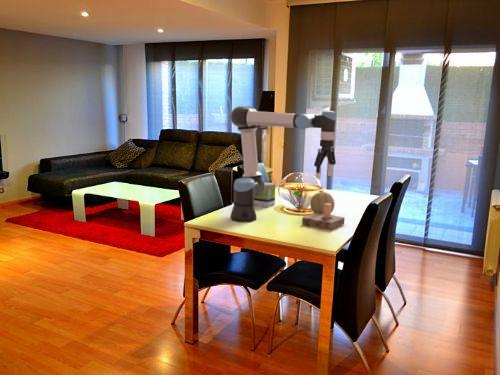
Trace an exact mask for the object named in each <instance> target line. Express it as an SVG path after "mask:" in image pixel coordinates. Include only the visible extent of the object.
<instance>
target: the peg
mask: <svg viewBox="0 0 500 375" xmlns="http://www.w3.org/2000/svg"><path fill="white" fill-rule="evenodd" d="M331 213H332V212H331V204H328V203H325V204H324V213H323V219H327V220H330V217H331V215H332V214H331Z"/></svg>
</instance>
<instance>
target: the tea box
mask: <svg viewBox="0 0 500 375" xmlns="http://www.w3.org/2000/svg"><path fill="white" fill-rule="evenodd" d="M275 204H276V183H271V182H265V189H264V191H263V192H262V193H261V194H260V195H259V196H256V197H254V206H257V207H264V208H270V207H273V206H275Z"/></svg>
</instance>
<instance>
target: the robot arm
mask: <svg viewBox="0 0 500 375" xmlns="http://www.w3.org/2000/svg"><path fill="white" fill-rule="evenodd" d="M336 114H337V113H336V112H335V111H333V110H329V111H328V110H323V111H322V112H321V114H320V113H319V114H317V113H294V112H293V113H290V112H289V113H288V112H275V111H274V112H273V111H272V112H271V111H261V110H260V111H259V110H258V111H257V109H256V108H254V107H252V106H249V105H247V106H237V107H234V108H233V109H232V111H231V113H230V120H231V122H232V124H233V125H234V126H236V127H237V131H238V132H239V133H240V137H241V149H242V159H243V169H244V173H243V174H242V177H240V178H239V177H238V178H237V179H235V180H234V182H233V207H232V209H231V212H230V221H231V220H232V221H234V222H239V223H249V222H255V221H256V220H257V213H256V209H255V205H254V197H256V196H259V195H260V194H261V193H262V192H263V191H264V189H265V183H266V182H265V180H264V179H263V176H262V173H261V172H260V171H259V170H260V169H259V161H258V159H259V158H258V149H257V138H256V131H257V130H258V126H264V127H266V126H267V127H277V128H279V127H280V128H291V129H292V128H294V129H302V130H306V129H309V128H311V129H313V128H315V129H320V137H319V138H320V139H319V147H321V148H318V149H317V154H316V158H315V161H314V164H313V167H316V169H315V179H317V180H318V179H319V180H320V179H322V178H321V177H322V164H323V163H324V161H325V158H327V162H328V163H329V164H328V167H327V176H328V177H333V175H334V166H335V165H336V162H337V161H336V155H335V147H334V144H335V141H334V139H335V135H336V134H335V133H336V132H335V129H336V121H337V118H336V116H337V115H336Z"/></svg>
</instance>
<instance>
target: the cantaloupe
mask: <svg viewBox="0 0 500 375" xmlns="http://www.w3.org/2000/svg"><path fill="white" fill-rule="evenodd" d="M325 203H328V204H331V213H332V212H333V211H334V209H335V205H336V203H335V199H334V198H333V196H332V195H331V194H330V193H329V192H326V191H325V192H324V191H322V190H319V192H317V193H314V195H313V196H311V199H310V204H309V205H310V209H311V210H312V212H313V213H316V212H318V213H324V204H325Z"/></svg>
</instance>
